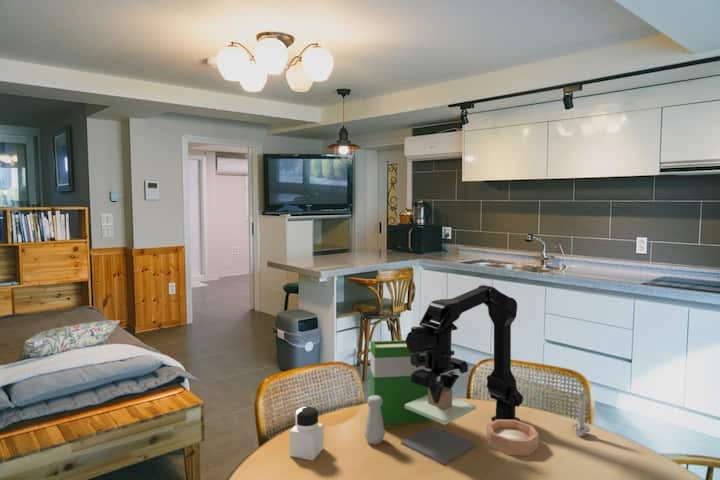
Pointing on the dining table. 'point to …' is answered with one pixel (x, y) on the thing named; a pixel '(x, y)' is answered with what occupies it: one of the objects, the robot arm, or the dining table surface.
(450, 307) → the robot arm
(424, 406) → the lid
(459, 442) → the mat
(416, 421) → the hardback book
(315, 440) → the medicine bottle
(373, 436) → the salt shaker
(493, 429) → the bowl
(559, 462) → the dining table surface
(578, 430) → the screw
